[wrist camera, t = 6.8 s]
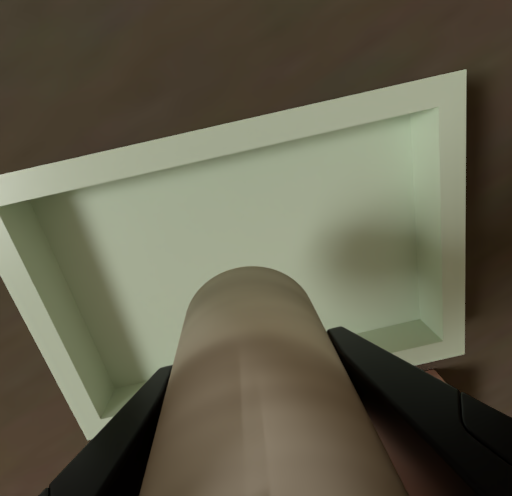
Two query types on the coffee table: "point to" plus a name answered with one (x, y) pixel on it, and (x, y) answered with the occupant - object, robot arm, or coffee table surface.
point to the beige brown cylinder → (262, 401)
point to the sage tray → (245, 234)
